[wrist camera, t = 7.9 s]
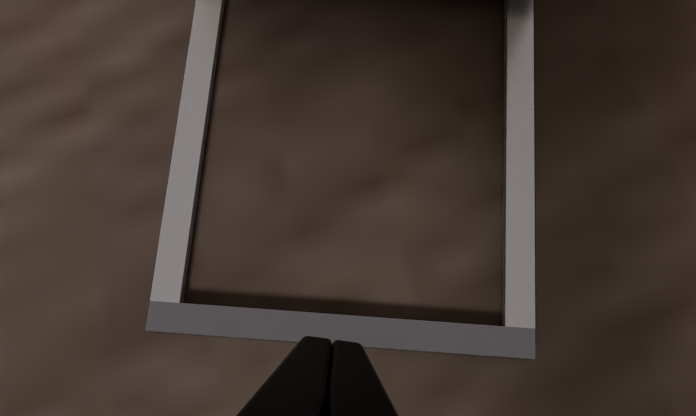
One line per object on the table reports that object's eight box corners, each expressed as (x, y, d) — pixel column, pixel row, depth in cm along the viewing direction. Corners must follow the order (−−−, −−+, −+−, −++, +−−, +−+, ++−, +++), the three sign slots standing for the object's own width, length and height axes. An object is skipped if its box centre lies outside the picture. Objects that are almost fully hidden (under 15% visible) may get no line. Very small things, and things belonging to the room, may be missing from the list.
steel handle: (531, 359, 21) (535, 359, 21) (149, 331, 22) (145, 330, 21) (529, -47, 26) (533, -55, 25) (210, -66, 26) (207, -75, 25)
